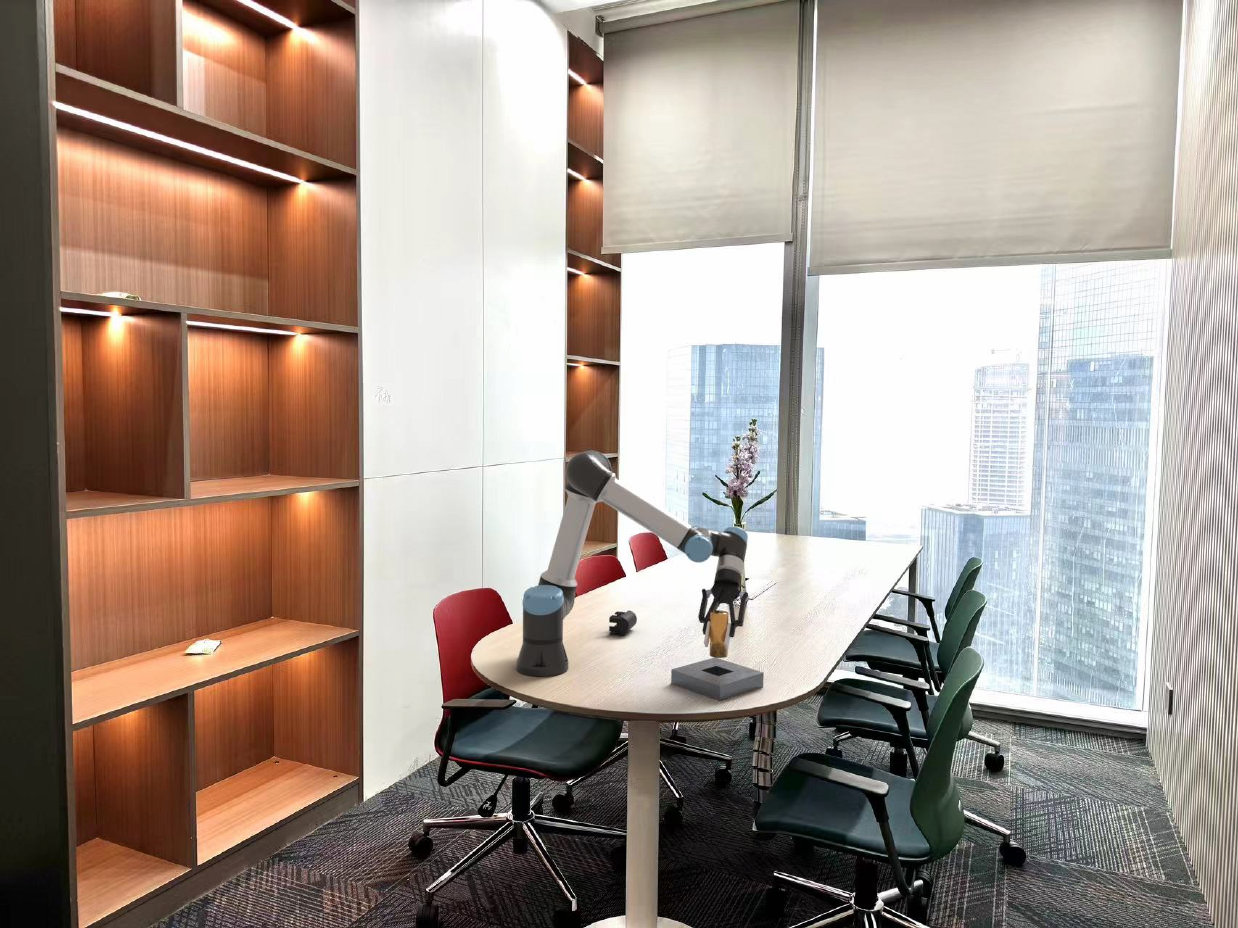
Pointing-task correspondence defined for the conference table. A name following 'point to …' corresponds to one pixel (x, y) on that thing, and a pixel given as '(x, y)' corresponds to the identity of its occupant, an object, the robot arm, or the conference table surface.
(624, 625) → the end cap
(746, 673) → the jig
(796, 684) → the conference table surface
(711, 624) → the bushing
